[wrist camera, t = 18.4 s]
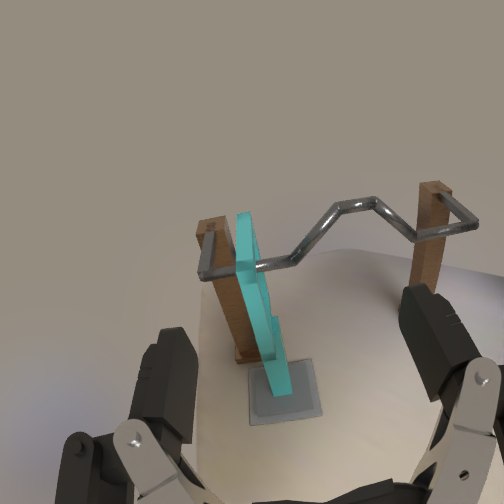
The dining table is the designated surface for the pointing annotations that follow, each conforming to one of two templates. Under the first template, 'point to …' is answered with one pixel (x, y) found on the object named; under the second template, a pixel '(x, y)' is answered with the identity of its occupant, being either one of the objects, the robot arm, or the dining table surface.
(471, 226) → the bent wire rig
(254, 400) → the slate pad
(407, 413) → the dining table surface
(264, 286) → the turquoise post on base
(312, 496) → the dining table surface
